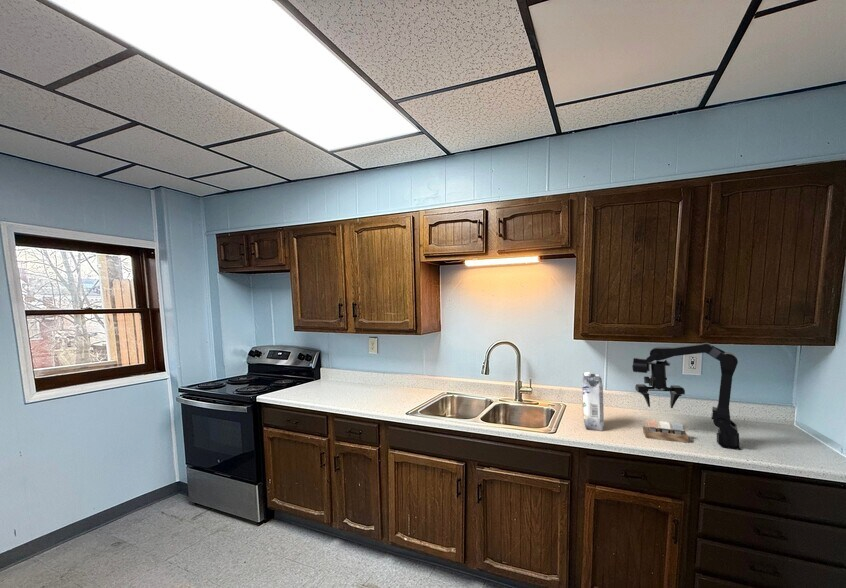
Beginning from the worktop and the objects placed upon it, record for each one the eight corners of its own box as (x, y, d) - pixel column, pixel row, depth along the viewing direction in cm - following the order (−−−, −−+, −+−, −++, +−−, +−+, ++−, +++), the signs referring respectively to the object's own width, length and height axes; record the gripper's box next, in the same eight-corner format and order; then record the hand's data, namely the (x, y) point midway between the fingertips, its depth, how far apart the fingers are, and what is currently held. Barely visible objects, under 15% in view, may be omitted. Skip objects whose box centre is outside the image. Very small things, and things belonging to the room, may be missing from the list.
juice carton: (602, 424, 178) (600, 371, 178) (604, 432, 168) (603, 375, 168) (582, 422, 181) (581, 370, 181) (584, 430, 171) (582, 374, 172)
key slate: (681, 433, 160) (680, 423, 160) (683, 436, 156) (682, 425, 156) (672, 433, 161) (671, 422, 161) (674, 435, 158) (673, 425, 158)
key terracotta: (656, 431, 163) (655, 420, 163) (657, 433, 160) (657, 423, 160) (647, 430, 165) (647, 420, 165) (648, 432, 162) (648, 422, 162)
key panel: (684, 436, 161) (684, 430, 161) (688, 442, 154) (688, 436, 154) (643, 432, 167) (643, 426, 167) (645, 437, 160) (645, 431, 161)
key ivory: (668, 432, 161) (668, 422, 161) (670, 435, 158) (670, 424, 158) (659, 431, 163) (659, 421, 163) (661, 434, 160) (661, 423, 160)
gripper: (674, 371, 171) (676, 403, 171) (631, 370, 176) (632, 401, 176) (684, 376, 160) (686, 410, 160) (638, 375, 166) (639, 408, 165)
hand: (660, 407), depth 166 cm, fingers open, 9 cm apart
